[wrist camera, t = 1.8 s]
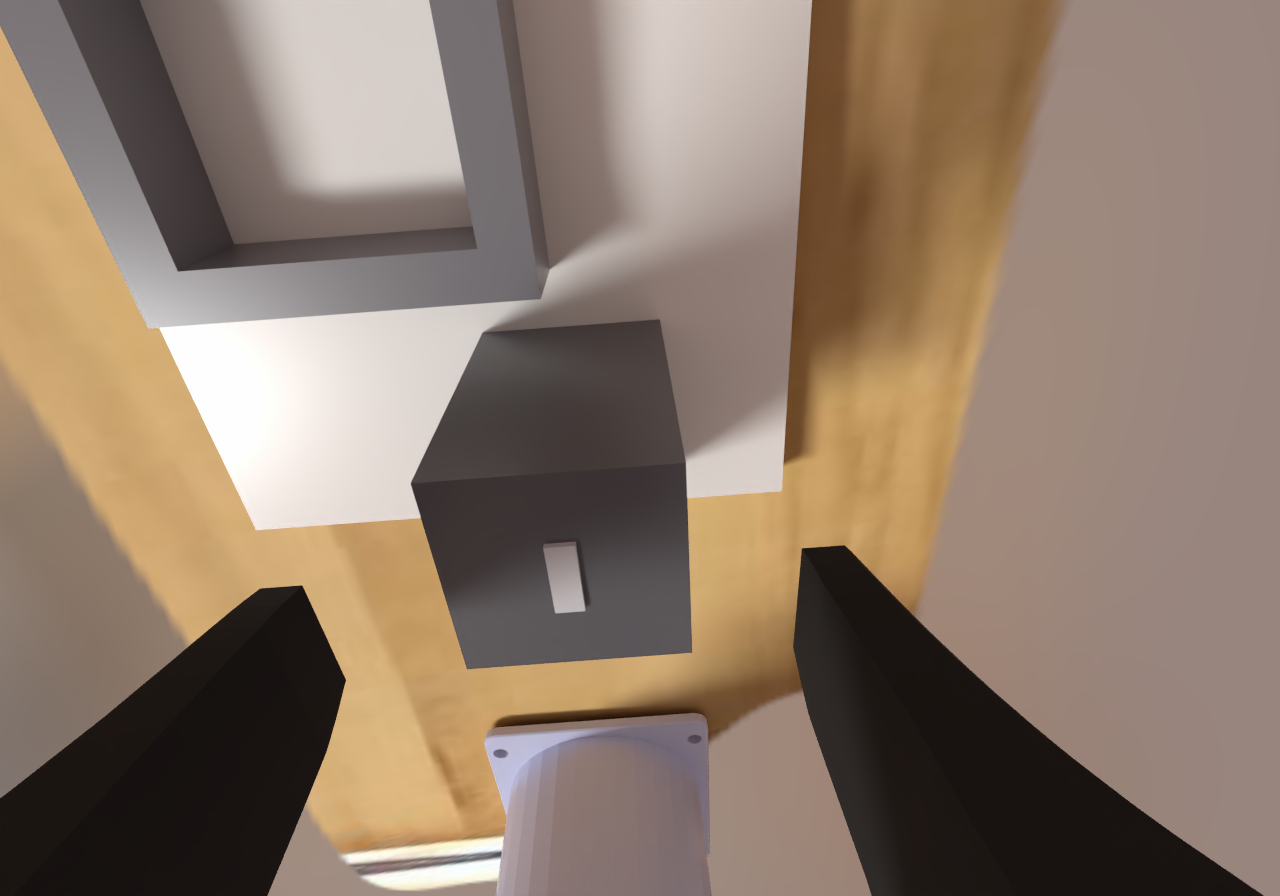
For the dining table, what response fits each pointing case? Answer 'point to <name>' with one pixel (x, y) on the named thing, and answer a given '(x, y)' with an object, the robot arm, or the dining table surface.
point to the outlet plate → (434, 211)
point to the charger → (561, 498)
